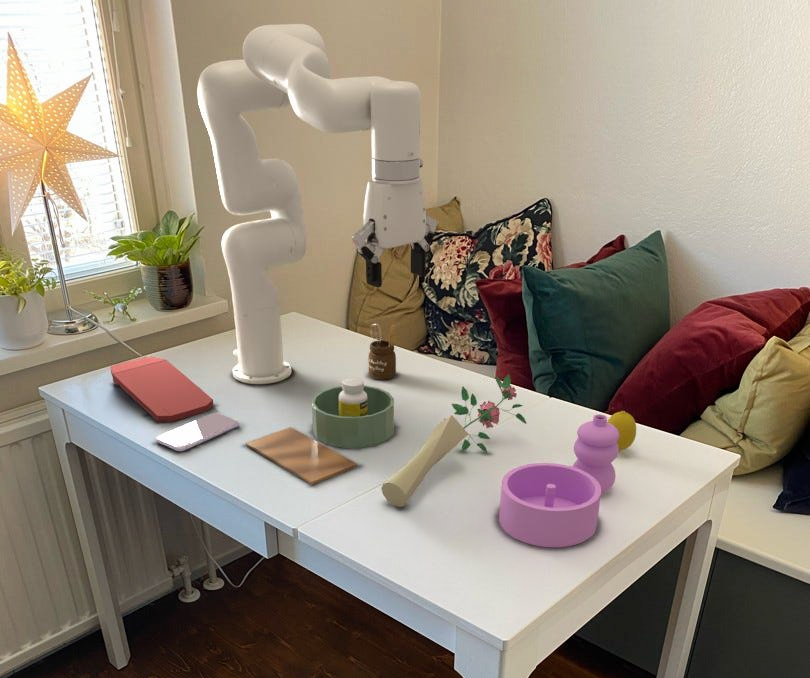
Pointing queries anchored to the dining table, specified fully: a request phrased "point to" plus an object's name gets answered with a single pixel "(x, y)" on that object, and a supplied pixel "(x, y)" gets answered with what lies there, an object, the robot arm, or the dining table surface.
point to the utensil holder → (382, 357)
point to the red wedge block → (160, 388)
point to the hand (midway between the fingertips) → (396, 279)
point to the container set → (561, 491)
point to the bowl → (353, 419)
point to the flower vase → (445, 444)
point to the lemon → (624, 428)
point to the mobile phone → (197, 432)
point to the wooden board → (301, 455)
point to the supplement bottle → (353, 398)
